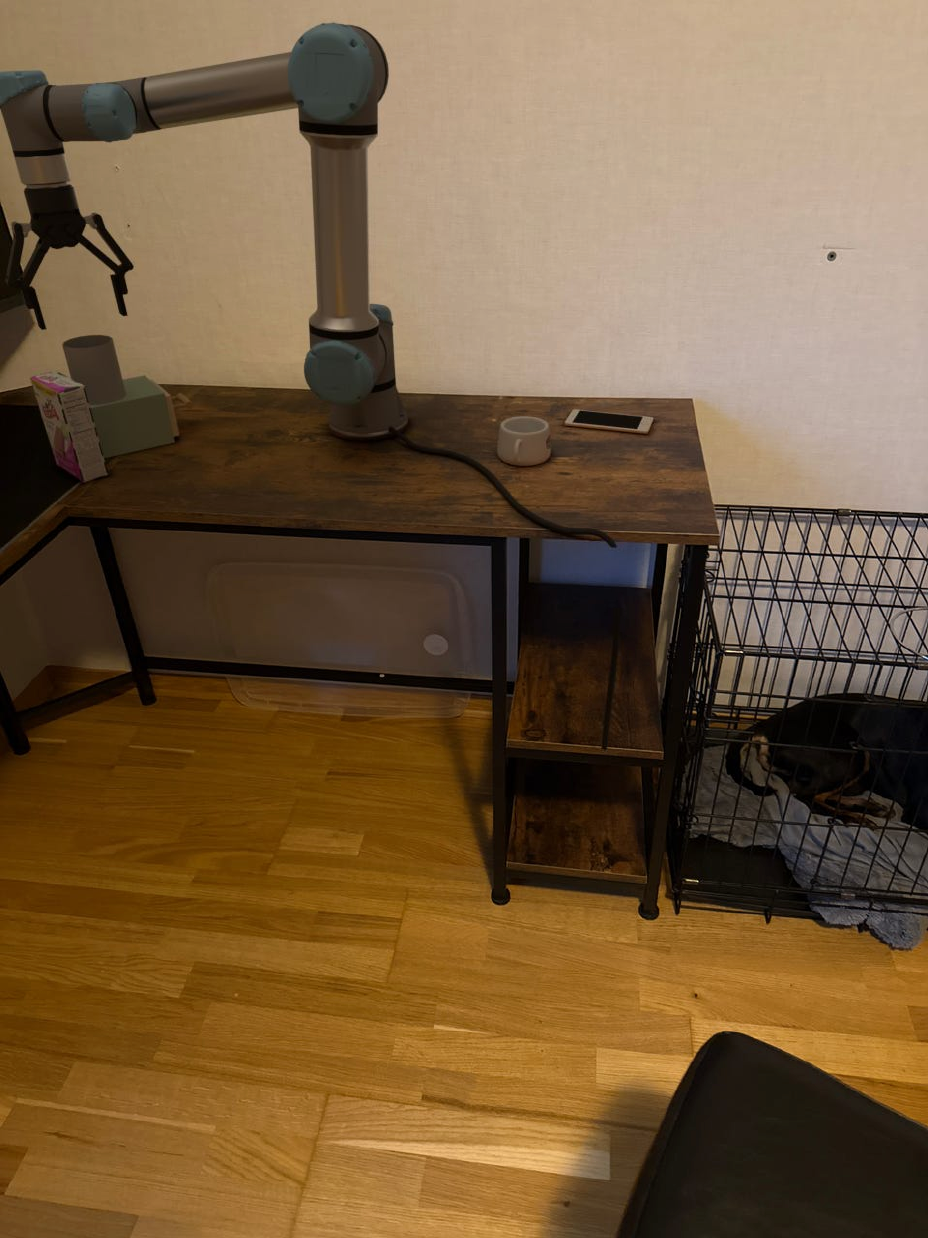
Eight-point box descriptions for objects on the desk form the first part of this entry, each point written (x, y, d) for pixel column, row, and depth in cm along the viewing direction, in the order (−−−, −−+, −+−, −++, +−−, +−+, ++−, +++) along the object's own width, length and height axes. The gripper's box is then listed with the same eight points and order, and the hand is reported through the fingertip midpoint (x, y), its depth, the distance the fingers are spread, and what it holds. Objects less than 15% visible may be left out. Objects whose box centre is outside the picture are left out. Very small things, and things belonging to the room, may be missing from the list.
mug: (503, 443, 160) (504, 412, 157) (555, 448, 158) (556, 417, 154) (487, 469, 150) (487, 437, 147) (542, 475, 148) (543, 442, 145)
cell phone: (647, 434, 162) (647, 431, 162) (564, 425, 167) (564, 422, 167) (653, 420, 169) (653, 417, 168) (573, 411, 173) (573, 408, 173)
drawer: (183, 413, 174) (175, 375, 170) (202, 430, 166) (194, 390, 162) (91, 432, 166) (80, 393, 161) (107, 451, 158) (96, 410, 153)
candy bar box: (54, 466, 155) (27, 376, 146) (81, 458, 158) (56, 369, 149) (82, 484, 148) (56, 391, 139) (110, 475, 151) (85, 383, 142)
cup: (109, 406, 153) (95, 349, 147) (68, 403, 154) (52, 347, 148) (134, 390, 159) (121, 335, 154) (94, 388, 161) (80, 333, 155)
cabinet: (155, 422, 172) (144, 375, 167) (175, 442, 163) (164, 392, 158) (79, 438, 166) (66, 390, 160) (96, 460, 157) (82, 409, 151)
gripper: (120, 175, 146) (149, 305, 157) (-42, 190, 135) (2, 328, 146) (132, 179, 140) (161, 313, 152) (-35, 195, 129) (10, 338, 141)
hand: (83, 321), depth 149 cm, fingers open, 13 cm apart
